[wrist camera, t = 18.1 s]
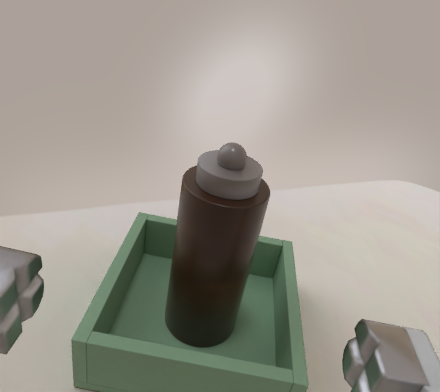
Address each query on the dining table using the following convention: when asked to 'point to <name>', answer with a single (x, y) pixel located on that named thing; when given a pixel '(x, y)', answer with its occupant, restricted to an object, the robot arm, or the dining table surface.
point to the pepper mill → (214, 244)
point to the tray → (175, 349)
